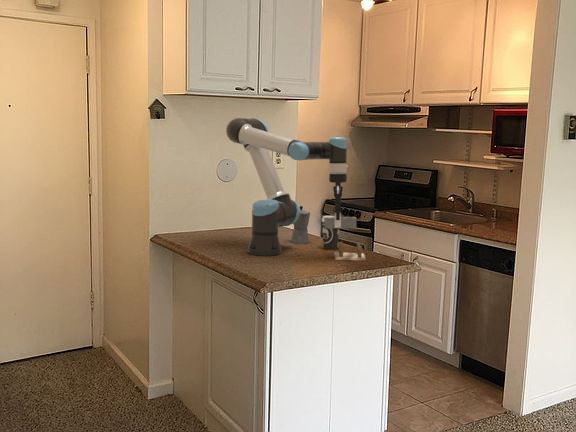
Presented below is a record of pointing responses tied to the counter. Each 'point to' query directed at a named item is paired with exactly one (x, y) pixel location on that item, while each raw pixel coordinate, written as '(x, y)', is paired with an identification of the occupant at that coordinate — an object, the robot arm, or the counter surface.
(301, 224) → the coffeepot
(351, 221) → the grey metal bar
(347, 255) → the rack
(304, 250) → the counter surface
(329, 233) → the coffee cup
